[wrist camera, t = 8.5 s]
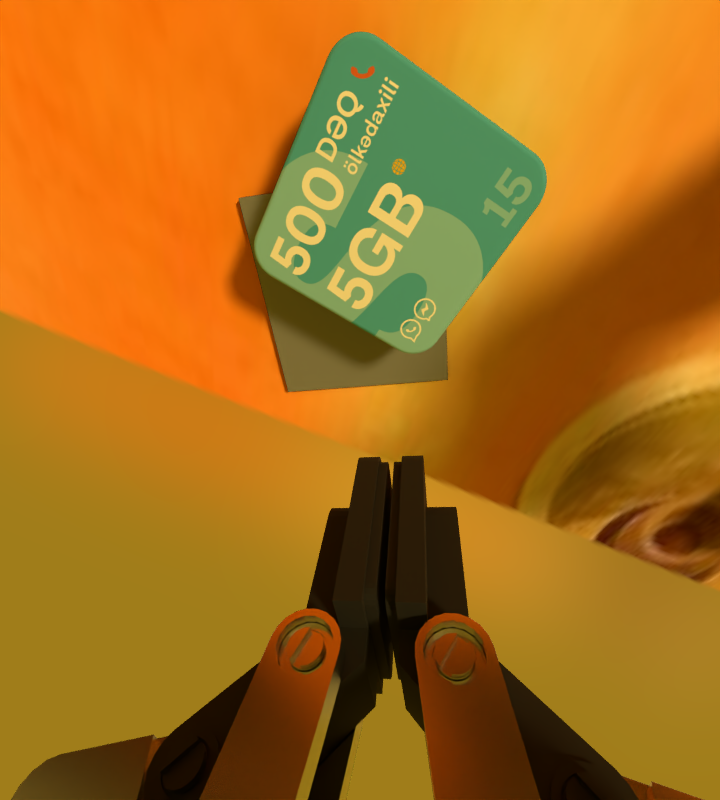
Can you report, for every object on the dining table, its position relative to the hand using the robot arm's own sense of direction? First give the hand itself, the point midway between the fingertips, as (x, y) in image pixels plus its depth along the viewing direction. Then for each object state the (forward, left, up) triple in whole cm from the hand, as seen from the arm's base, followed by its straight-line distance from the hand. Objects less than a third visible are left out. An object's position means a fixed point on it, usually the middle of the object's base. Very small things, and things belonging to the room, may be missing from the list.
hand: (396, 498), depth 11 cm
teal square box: (-5, -1, -17) cm, 18 cm away
